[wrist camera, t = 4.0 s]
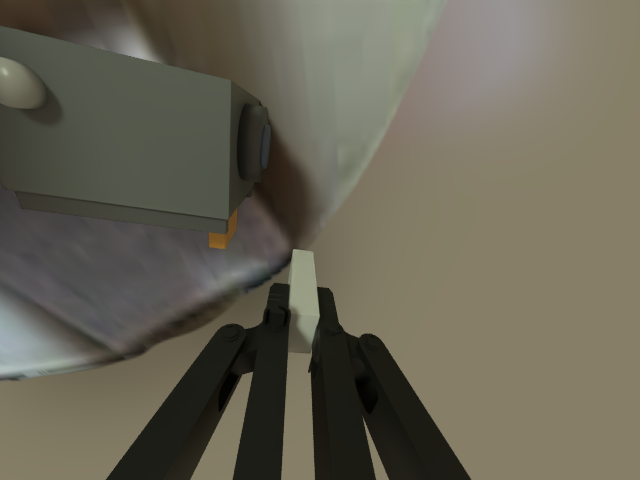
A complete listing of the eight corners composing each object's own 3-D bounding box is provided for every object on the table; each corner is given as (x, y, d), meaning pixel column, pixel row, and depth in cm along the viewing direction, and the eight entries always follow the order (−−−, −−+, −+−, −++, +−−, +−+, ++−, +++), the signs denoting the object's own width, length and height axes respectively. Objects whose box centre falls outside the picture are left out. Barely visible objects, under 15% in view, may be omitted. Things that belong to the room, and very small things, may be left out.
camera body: (126, 176, 20) (-3, 213, 11) (107, 65, 17) (-98, -1, 8) (268, 198, 22) (251, 244, 14) (278, 104, 19) (261, 85, 10)
